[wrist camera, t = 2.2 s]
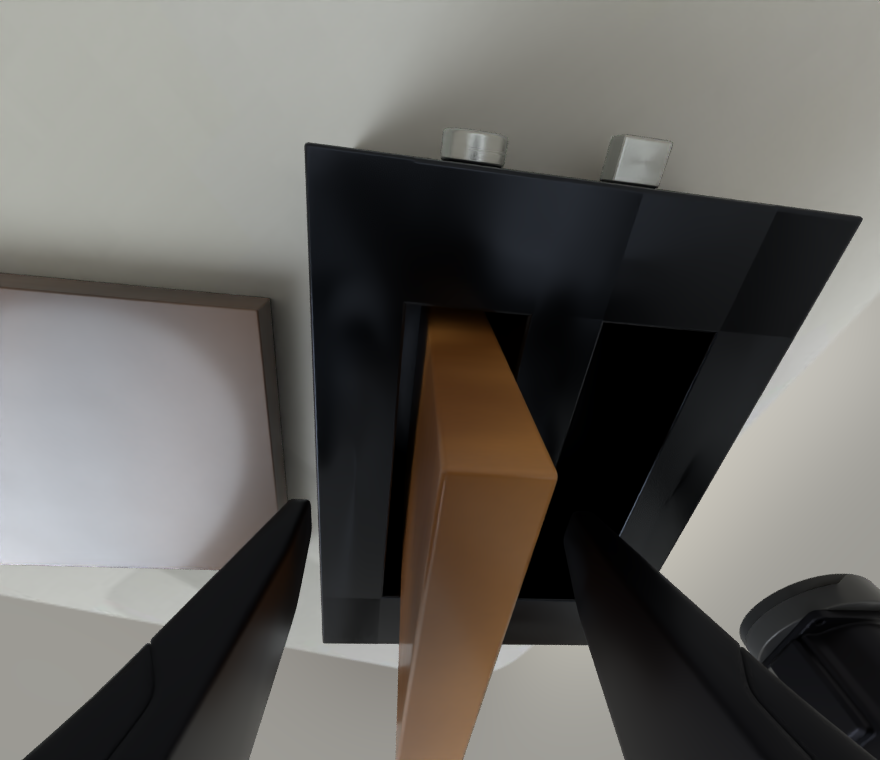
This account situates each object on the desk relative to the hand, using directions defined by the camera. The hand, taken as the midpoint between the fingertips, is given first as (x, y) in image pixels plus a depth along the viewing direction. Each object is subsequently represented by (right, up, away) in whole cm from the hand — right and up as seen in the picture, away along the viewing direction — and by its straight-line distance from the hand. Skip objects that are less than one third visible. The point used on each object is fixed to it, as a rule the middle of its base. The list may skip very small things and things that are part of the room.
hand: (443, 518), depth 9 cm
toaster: (+2, +3, +6) cm, 7 cm away
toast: (0, +3, +5) cm, 6 cm away
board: (-12, +1, +6) cm, 14 cm away
